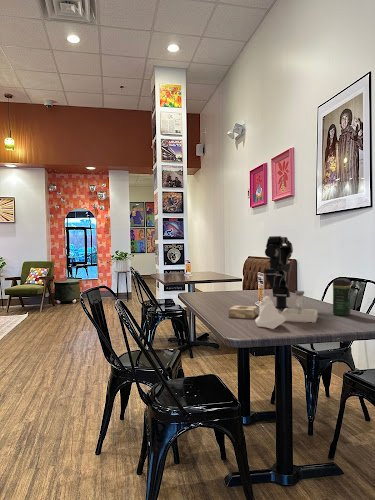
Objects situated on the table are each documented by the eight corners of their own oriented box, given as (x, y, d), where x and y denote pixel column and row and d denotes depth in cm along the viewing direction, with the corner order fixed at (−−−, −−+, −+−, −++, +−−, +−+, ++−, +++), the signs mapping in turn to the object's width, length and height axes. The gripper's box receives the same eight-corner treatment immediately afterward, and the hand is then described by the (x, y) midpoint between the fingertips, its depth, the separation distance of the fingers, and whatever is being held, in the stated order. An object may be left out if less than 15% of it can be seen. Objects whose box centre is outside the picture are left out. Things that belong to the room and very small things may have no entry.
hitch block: (234, 312, 198) (234, 305, 198) (257, 314, 193) (257, 306, 193) (228, 316, 187) (228, 309, 187) (252, 318, 182) (252, 310, 182)
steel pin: (293, 316, 180) (292, 291, 180) (299, 315, 182) (299, 290, 182) (299, 318, 176) (299, 292, 176) (306, 317, 179) (306, 291, 178)
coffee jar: (347, 316, 183) (347, 279, 182) (331, 315, 187) (330, 278, 187) (352, 313, 190) (351, 277, 190) (336, 312, 195) (335, 277, 195)
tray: (285, 315, 190) (285, 308, 190) (317, 316, 184) (317, 309, 184) (281, 320, 175) (280, 313, 175) (315, 323, 169) (315, 315, 169)
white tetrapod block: (258, 333, 158) (249, 300, 160) (257, 328, 173) (248, 298, 174) (287, 326, 157) (278, 293, 158) (283, 321, 171) (274, 292, 173)
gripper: (284, 257, 187) (285, 288, 186) (294, 260, 203) (295, 288, 201) (263, 257, 193) (263, 287, 191) (274, 260, 209) (275, 288, 207)
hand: (275, 288), depth 198 cm, fingers open, 9 cm apart
